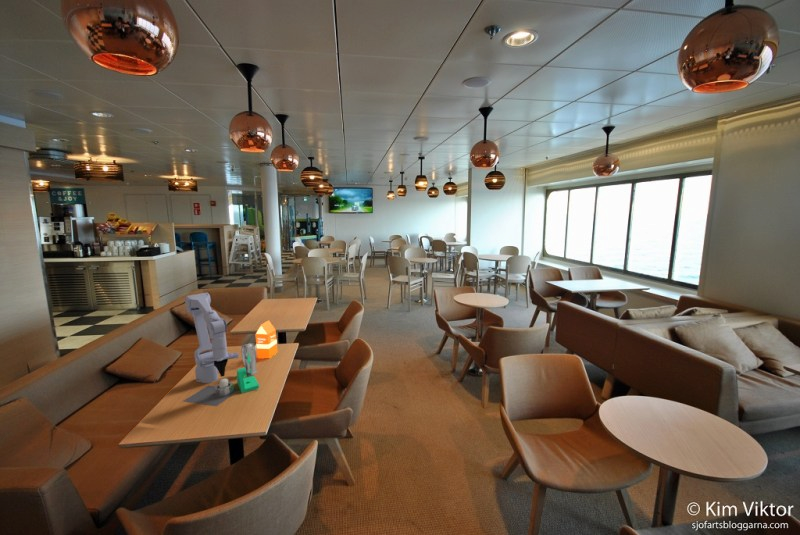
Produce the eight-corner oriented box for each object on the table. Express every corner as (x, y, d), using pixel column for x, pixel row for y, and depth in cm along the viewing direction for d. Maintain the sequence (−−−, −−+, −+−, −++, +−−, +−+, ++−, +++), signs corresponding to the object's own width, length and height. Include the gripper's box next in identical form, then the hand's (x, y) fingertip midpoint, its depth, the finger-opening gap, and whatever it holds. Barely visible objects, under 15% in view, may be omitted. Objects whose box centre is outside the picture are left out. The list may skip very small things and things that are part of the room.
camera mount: (259, 390, 154) (257, 369, 153) (242, 395, 150) (239, 374, 149) (254, 380, 164) (252, 360, 163) (237, 385, 160) (235, 365, 158)
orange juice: (257, 358, 190) (254, 324, 187) (265, 352, 199) (263, 320, 196) (269, 358, 189) (266, 325, 186) (277, 352, 198) (275, 320, 195)
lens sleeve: (211, 395, 148) (211, 388, 148) (224, 387, 155) (223, 380, 155) (225, 397, 146) (224, 390, 146) (237, 389, 153) (236, 382, 153)
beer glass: (243, 377, 167) (241, 349, 165) (243, 372, 173) (240, 344, 171) (258, 374, 170) (256, 346, 168) (257, 369, 176) (255, 342, 174)
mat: (182, 403, 145) (182, 401, 145) (208, 387, 158) (208, 385, 158) (216, 408, 140) (216, 406, 140) (240, 391, 153) (240, 389, 153)
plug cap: (218, 394, 149) (216, 381, 148) (224, 390, 153) (223, 378, 152) (224, 395, 148) (223, 382, 148) (230, 391, 152) (229, 379, 151)
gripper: (199, 353, 141) (202, 382, 143) (236, 347, 146) (239, 376, 148) (202, 347, 148) (205, 375, 150) (238, 341, 153) (240, 369, 155)
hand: (222, 375), depth 149 cm, fingers closed
